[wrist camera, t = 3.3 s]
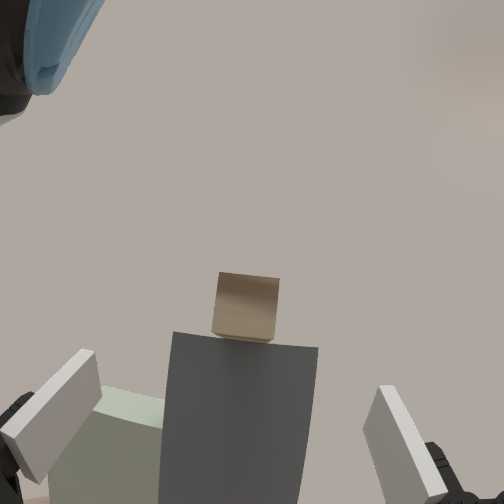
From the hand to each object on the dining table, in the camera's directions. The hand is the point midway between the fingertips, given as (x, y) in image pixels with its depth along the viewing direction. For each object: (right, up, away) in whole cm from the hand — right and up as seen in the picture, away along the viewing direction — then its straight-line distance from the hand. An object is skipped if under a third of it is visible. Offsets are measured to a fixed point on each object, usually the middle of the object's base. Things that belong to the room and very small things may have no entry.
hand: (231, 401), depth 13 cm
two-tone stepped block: (-10, -32, +15) cm, 37 cm away
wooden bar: (0, -2, +18) cm, 18 cm away
